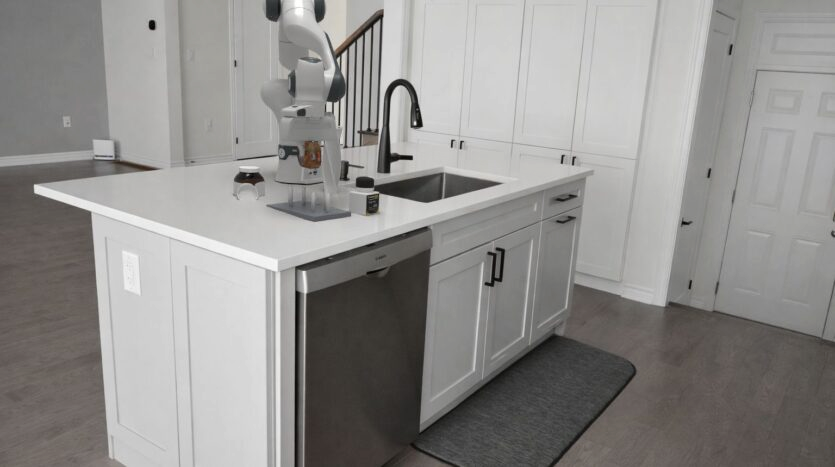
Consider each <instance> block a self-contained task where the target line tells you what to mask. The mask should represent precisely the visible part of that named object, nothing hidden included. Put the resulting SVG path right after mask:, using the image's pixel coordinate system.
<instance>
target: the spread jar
mask: <svg viewBox="0 0 835 467" xmlns="http://www.w3.org/2000/svg"><path fill="white" fill-rule="evenodd" d="M265 183H266V180H265V178H264V176H263V175H262V174H261V173H260V167H259V166H253V165H252V166H250V165H245V166H244V165H243V166H242V165H241V166H238V173H237V174H236V175H235V176H234V178H233V187H232V188H233V195H234V196H235V197H237V199H238V200H239V201H240V200H255V201H257V199H258V198H261V197H262V198H263V197H264V196H265V194H266V184H265Z"/></svg>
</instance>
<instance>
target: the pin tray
mask: <svg viewBox="0 0 835 467" xmlns="http://www.w3.org/2000/svg"><path fill="white" fill-rule="evenodd" d="M301 189H302V190H301V200H297V201H294V187H293V185H288V196H287V197H288V199H287V200H288V201H286V202H279V203H270V204H266V205H265V206H266V207H267V208H270V209H273V210H277V211H279V212H283V213H286V214H288V215H291V216H294V217H297V218H300V219H303V220H306V221H311V222H315V223H316V222H321V221H328V220H334V219H341V218H348V217H351V216H352V213H351V212H350V211H349V210H345V209H342V208H341V209H340V208H337V207H332V206H330V205H331V193H328V191H324V190H323V192H324V193H323V194H324V195H323V196H324V197H323V204H318V203H316V192H315V191H313V192H311V202H310V201H307V198H306V197H307V186H302V187H301Z"/></svg>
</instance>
